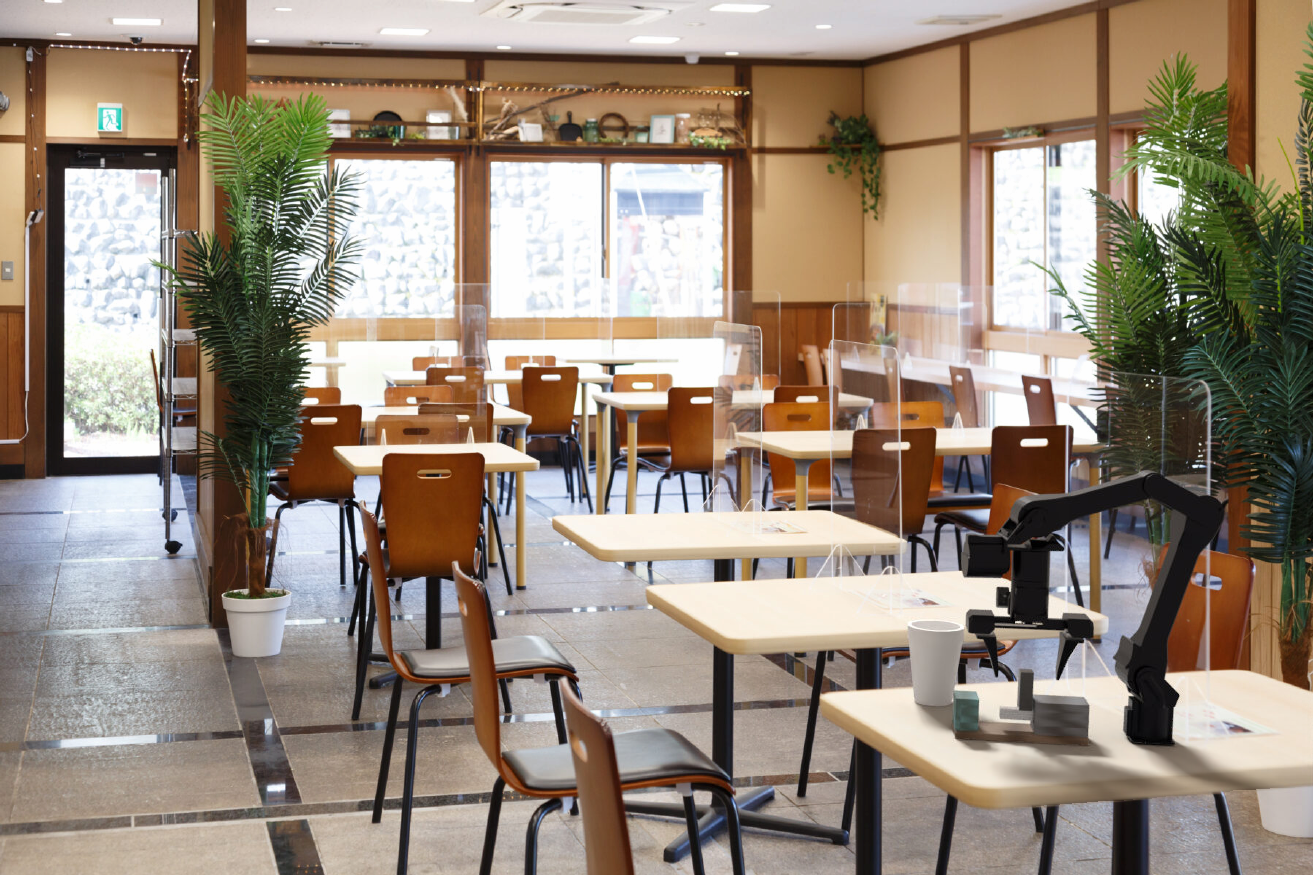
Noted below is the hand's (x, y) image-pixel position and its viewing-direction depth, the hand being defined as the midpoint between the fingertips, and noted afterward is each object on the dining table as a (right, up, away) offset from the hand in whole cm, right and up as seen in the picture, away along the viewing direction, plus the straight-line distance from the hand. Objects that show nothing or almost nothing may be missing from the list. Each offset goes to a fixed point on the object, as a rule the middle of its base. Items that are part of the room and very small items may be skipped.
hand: (1026, 678), depth 222 cm
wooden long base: (-1, -9, +1) cm, 9 cm away
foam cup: (-11, -7, +20) cm, 24 cm away
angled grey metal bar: (+2, -6, 0) cm, 7 cm away
